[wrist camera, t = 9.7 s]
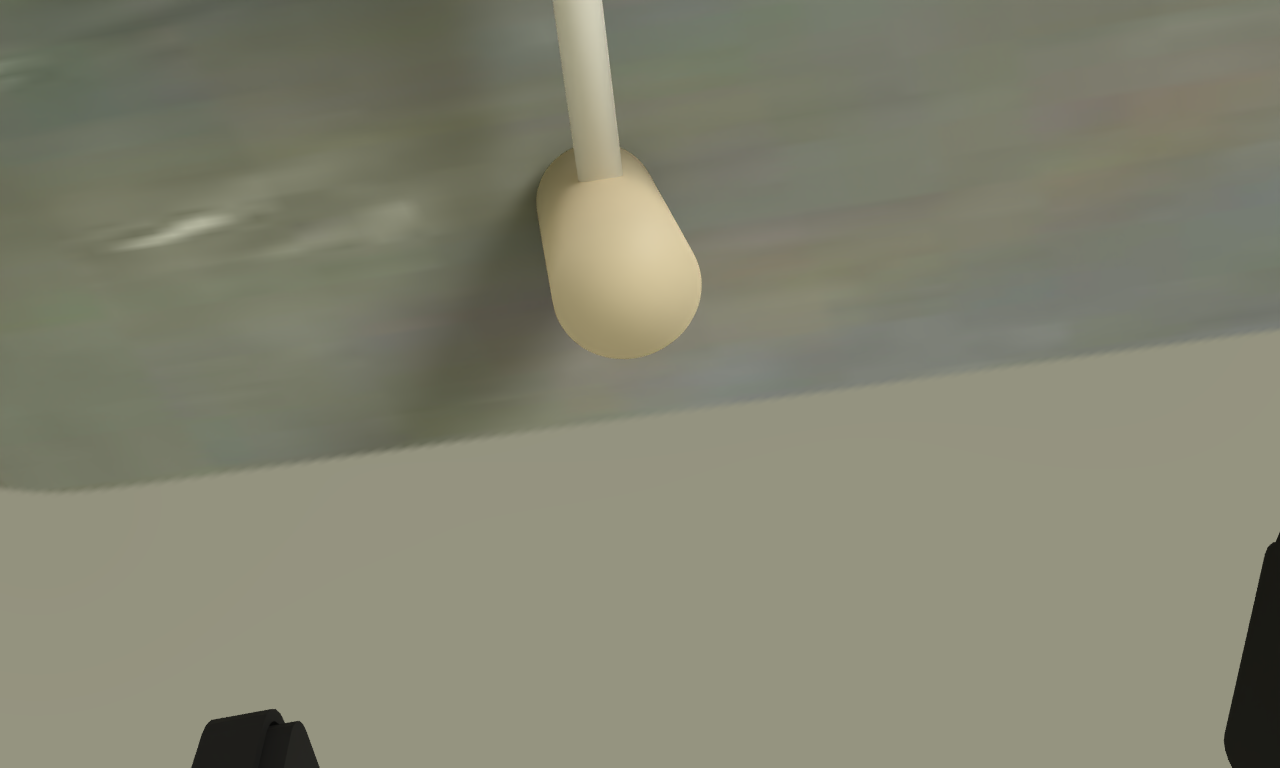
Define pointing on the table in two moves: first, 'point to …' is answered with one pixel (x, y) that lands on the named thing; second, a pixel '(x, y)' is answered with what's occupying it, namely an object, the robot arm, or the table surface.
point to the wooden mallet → (608, 216)
